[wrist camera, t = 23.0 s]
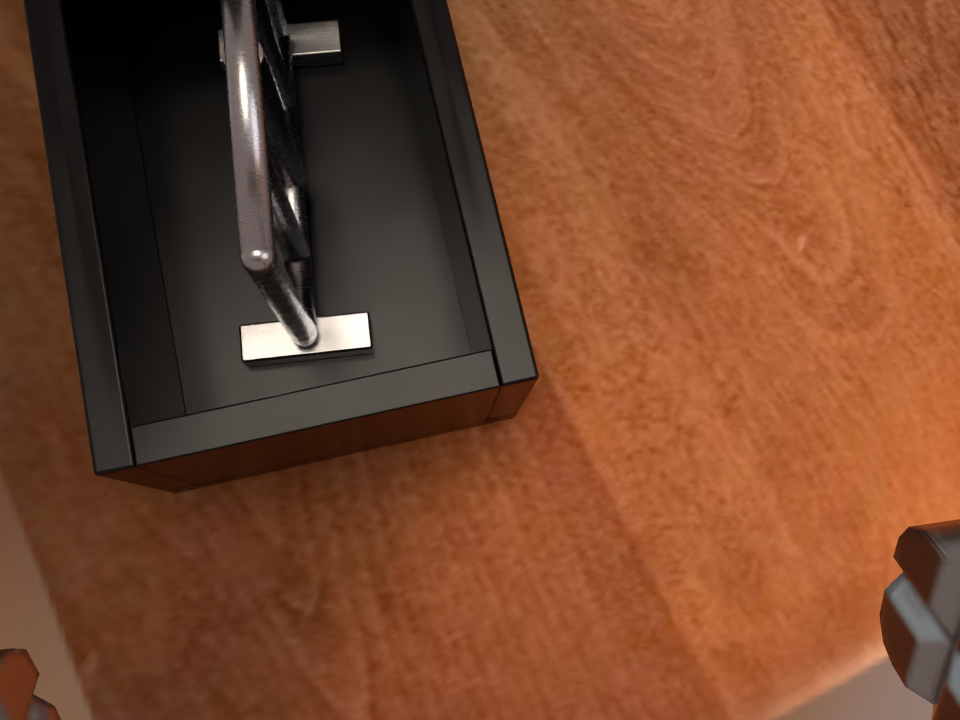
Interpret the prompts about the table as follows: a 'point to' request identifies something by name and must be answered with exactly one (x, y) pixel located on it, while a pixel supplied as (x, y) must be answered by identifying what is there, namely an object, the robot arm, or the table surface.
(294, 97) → the rack
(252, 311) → the oven
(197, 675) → the table surface
